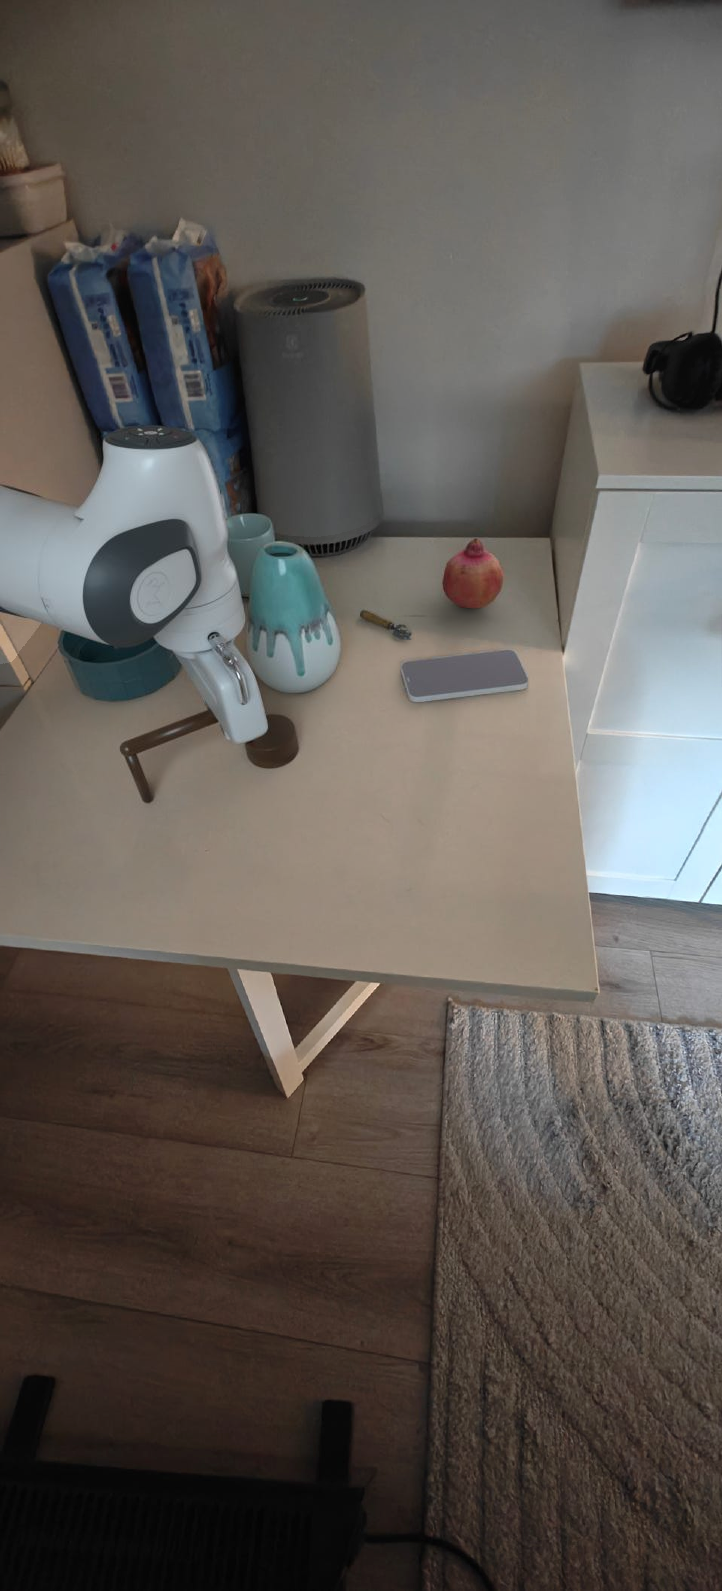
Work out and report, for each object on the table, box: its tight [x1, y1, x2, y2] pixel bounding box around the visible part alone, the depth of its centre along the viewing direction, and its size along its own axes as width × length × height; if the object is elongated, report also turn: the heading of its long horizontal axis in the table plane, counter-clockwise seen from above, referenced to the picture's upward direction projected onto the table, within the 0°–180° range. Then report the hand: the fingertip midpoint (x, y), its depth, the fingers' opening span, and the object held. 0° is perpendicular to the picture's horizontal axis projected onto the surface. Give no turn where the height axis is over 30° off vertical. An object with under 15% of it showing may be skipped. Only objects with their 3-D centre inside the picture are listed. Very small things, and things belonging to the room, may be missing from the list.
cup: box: [226, 512, 277, 599], centre depth 104 cm, size 8×8×10 cm
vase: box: [245, 540, 342, 694], centre depth 87 cm, size 12×12×18 cm
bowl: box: [57, 630, 182, 702], centre depth 94 cm, size 14×14×6 cm
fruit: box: [441, 538, 504, 609], centre depth 98 cm, size 8×8×10 cm
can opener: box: [359, 609, 413, 641], centre depth 99 cm, size 9×2×1 cm, turn 44°
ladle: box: [119, 709, 300, 804], centre depth 79 cm, size 19×6×9 cm, turn 119°
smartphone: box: [400, 648, 530, 703], centre depth 91 cm, size 7×1×15 cm
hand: (223, 721), depth 78 cm, fingers open, 3 cm apart
